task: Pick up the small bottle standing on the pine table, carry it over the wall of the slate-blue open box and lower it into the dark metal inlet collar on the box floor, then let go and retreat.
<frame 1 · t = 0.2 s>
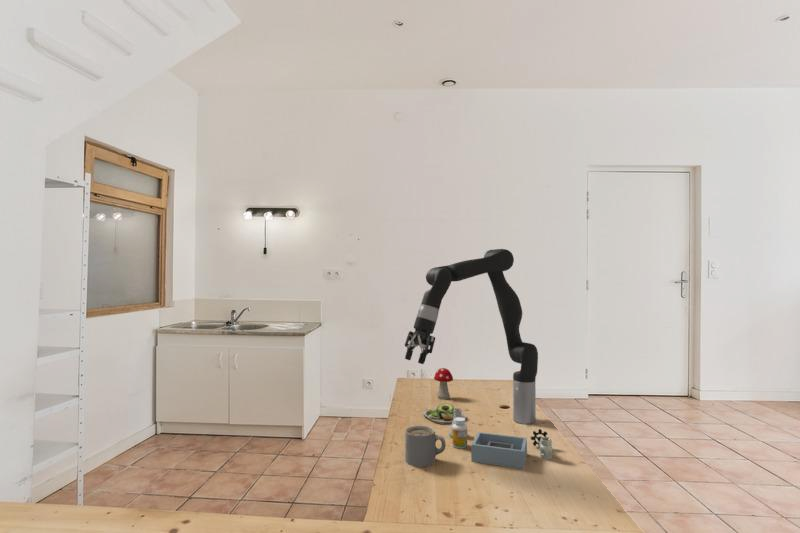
hand: (413, 361, 162), 31 cm above the table, tool tilted 20°, fingers open, 8 cm apart
valve: (543, 454, 155), on the table
decorative mushroom: (443, 398, 225), on the table
coffee mug: (425, 461, 149), on the table
salad plate: (444, 418, 195), on the table
walled box: (499, 457, 152), on the table
flask: (457, 436, 173), on the table
supplement bottle: (459, 446, 162), on the table
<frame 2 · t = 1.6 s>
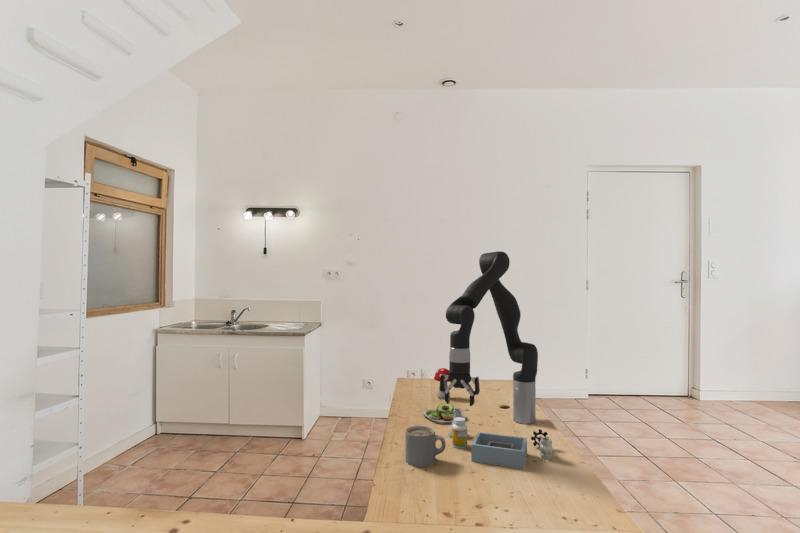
hand: (459, 404, 163), 15 cm above the table, tool pointing down, fingers open, 8 cm apart
nothing on the table moved.
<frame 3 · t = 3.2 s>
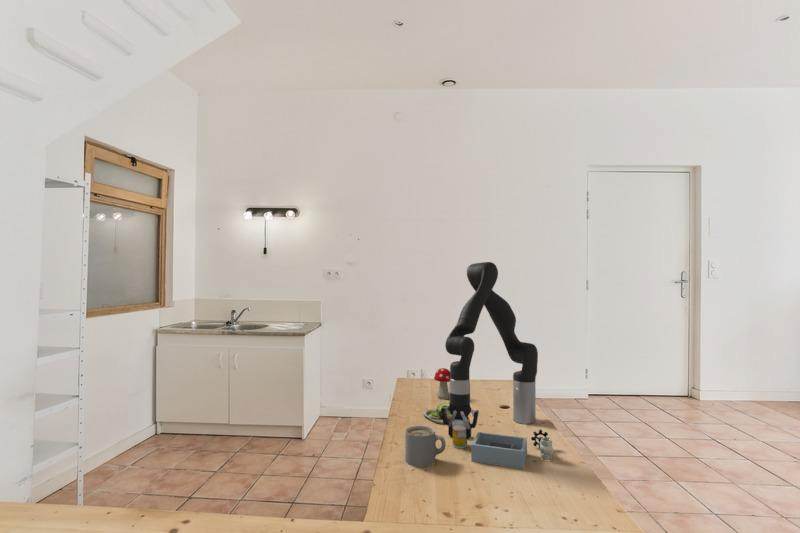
hand: (459, 437, 162), 3 cm above the table, tool pointing down, fingers closed on supplement bottle, 5 cm apart
supplement bottle: (459, 446, 162), on the table, touching gripper
everything else where it was.
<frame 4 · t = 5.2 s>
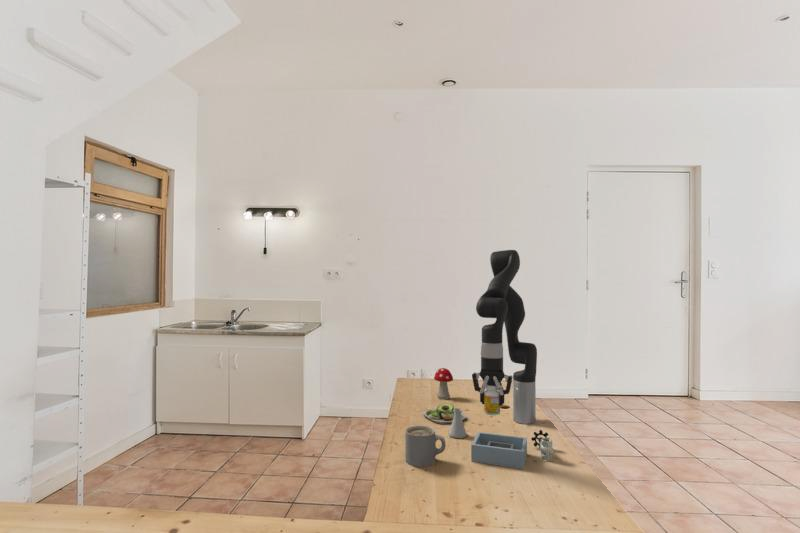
hand: (492, 404, 154), 17 cm above the table, tool pointing down, fingers closed on supplement bottle, 5 cm apart
supplement bottle: (492, 413, 154), point 14 cm above the table, touching gripper
everything else where it was.
when the fingers open (5 cm above the table, at t = 7.4 s): supplement bottle stays where it is, resting on walled box.
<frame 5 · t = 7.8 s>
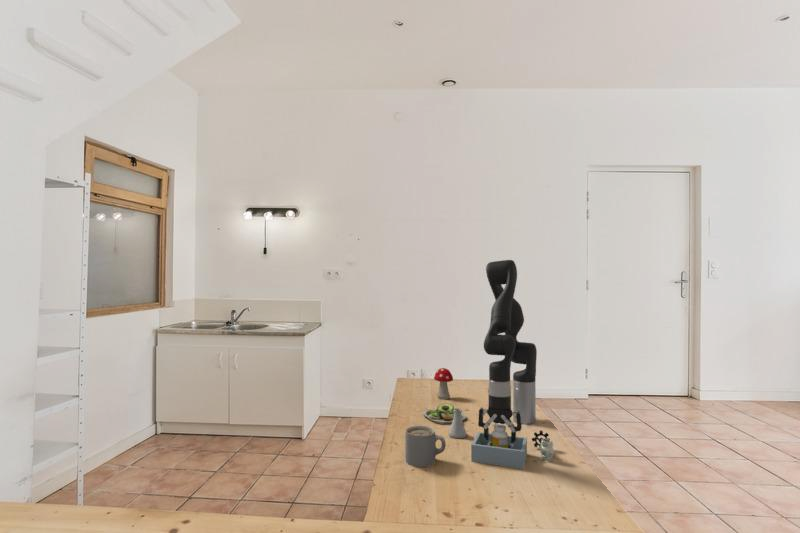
hand: (499, 440, 152), 6 cm above the table, tool pointing down, fingers open, 8 cm apart
supplement bottle: (499, 454, 152), point 1 cm above the table, touching walled box
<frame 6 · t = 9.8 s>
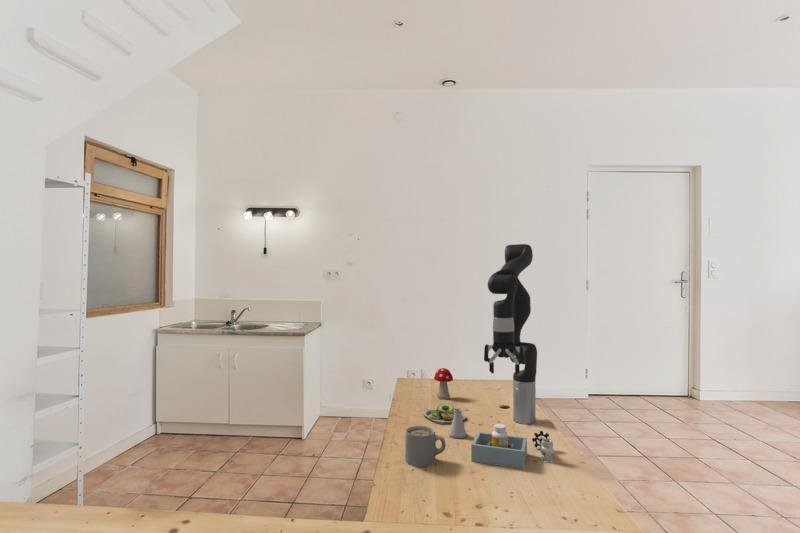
hand: (504, 373, 163), 26 cm above the table, tool pointing down, fingers open, 8 cm apart
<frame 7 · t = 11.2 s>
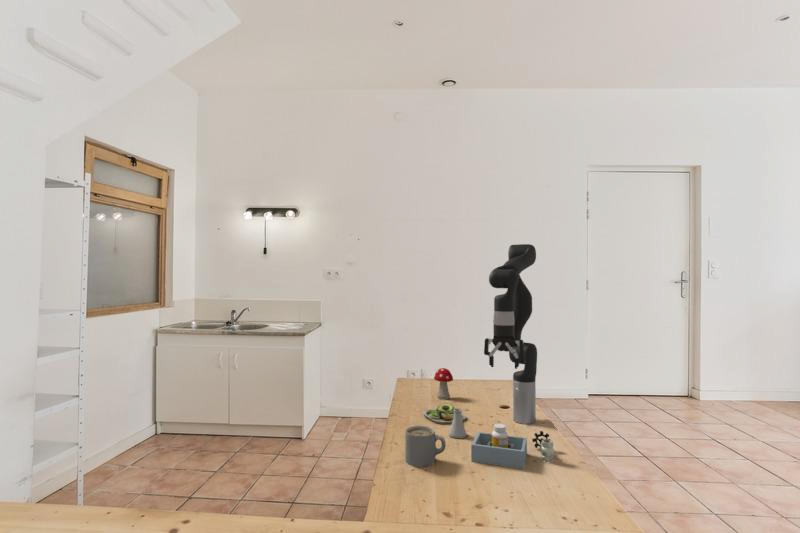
hand: (503, 367, 164), 28 cm above the table, tool pointing down, fingers open, 8 cm apart
at the end: supplement bottle 0.1 cm off-centre on the walled box, point 0.8 cm above the walled box's base; supplement bottle tilted 0°; the gripper is holding nothing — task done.
